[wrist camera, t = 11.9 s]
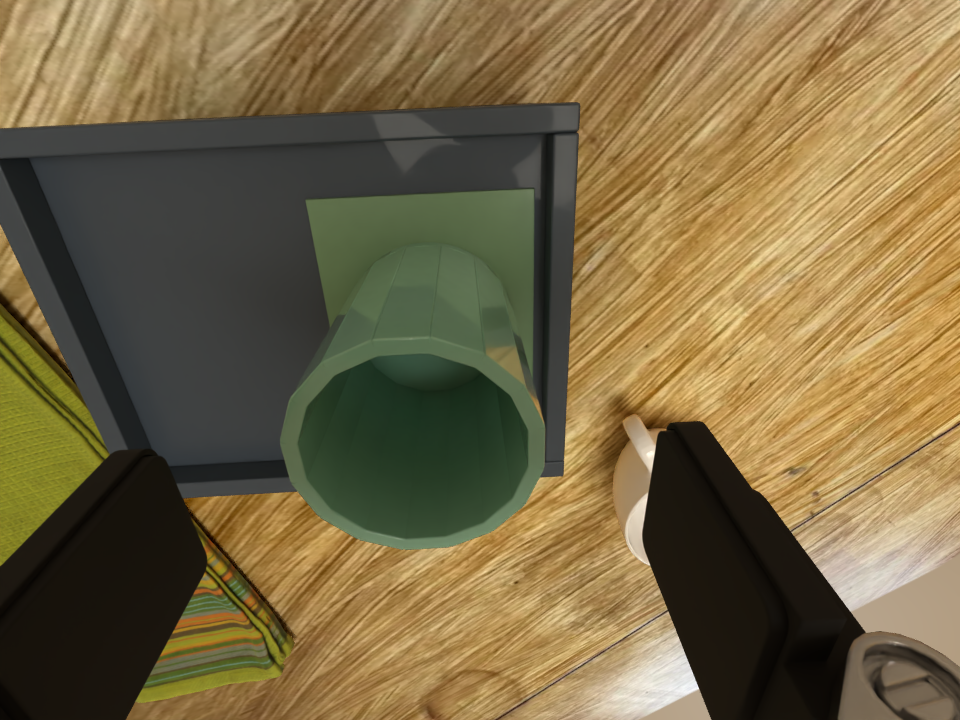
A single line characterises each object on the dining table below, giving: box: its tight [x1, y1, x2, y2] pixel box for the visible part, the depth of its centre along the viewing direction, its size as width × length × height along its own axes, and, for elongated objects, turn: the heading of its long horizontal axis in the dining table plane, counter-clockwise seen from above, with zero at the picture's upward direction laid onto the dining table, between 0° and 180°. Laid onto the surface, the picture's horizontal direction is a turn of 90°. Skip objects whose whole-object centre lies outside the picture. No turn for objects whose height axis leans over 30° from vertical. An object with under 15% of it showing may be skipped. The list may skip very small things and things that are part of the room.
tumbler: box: [280, 242, 545, 550], centre depth 15 cm, size 6×6×8 cm
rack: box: [0, 102, 580, 498], centre depth 23 cm, size 14×18×11 cm
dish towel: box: [0, 304, 294, 703], centre depth 34 cm, size 15×36×3 cm, turn 20°
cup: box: [613, 414, 666, 566], centre depth 31 cm, size 8×10×7 cm
